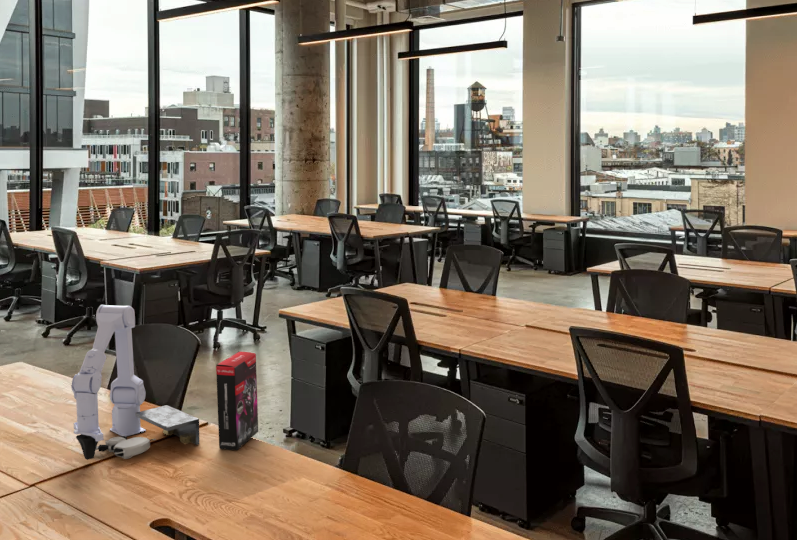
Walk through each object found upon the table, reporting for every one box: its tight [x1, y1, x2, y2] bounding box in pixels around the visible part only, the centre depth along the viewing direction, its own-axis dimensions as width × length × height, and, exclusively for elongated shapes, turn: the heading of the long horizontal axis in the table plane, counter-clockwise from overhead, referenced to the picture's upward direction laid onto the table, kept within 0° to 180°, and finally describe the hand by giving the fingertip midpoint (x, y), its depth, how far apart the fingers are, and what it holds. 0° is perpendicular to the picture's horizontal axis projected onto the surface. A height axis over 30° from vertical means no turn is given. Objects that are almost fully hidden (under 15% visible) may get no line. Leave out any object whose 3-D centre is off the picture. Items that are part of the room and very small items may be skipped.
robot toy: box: [95, 436, 157, 460], centre depth 227 cm, size 12×4×15 cm
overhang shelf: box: [136, 404, 201, 446], centre depth 237 cm, size 19×11×8 cm, turn 48°
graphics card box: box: [215, 350, 259, 451], centre depth 237 cm, size 17×7×27 cm, turn 168°
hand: (89, 458), depth 219 cm, fingers closed
